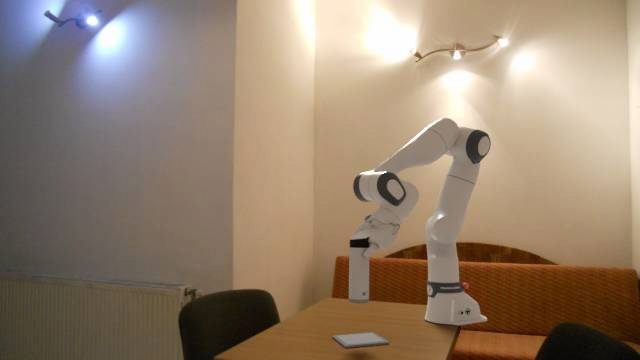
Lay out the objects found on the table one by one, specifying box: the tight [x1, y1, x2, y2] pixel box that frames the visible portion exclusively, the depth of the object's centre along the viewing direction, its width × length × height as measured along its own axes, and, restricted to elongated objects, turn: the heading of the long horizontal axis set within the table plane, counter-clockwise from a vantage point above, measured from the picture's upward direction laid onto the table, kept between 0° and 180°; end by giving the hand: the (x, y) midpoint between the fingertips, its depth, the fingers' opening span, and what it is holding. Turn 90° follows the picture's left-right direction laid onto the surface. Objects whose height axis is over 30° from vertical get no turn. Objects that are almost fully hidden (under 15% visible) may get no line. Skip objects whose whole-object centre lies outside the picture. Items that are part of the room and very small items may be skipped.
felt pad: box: [331, 331, 390, 349], centre depth 141 cm, size 14×12×1 cm
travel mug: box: [348, 237, 370, 304], centre depth 143 cm, size 6×7×20 cm
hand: (358, 255), depth 143 cm, fingers closed on travel mug, 6 cm apart
